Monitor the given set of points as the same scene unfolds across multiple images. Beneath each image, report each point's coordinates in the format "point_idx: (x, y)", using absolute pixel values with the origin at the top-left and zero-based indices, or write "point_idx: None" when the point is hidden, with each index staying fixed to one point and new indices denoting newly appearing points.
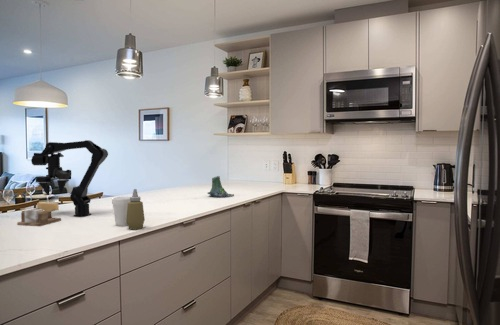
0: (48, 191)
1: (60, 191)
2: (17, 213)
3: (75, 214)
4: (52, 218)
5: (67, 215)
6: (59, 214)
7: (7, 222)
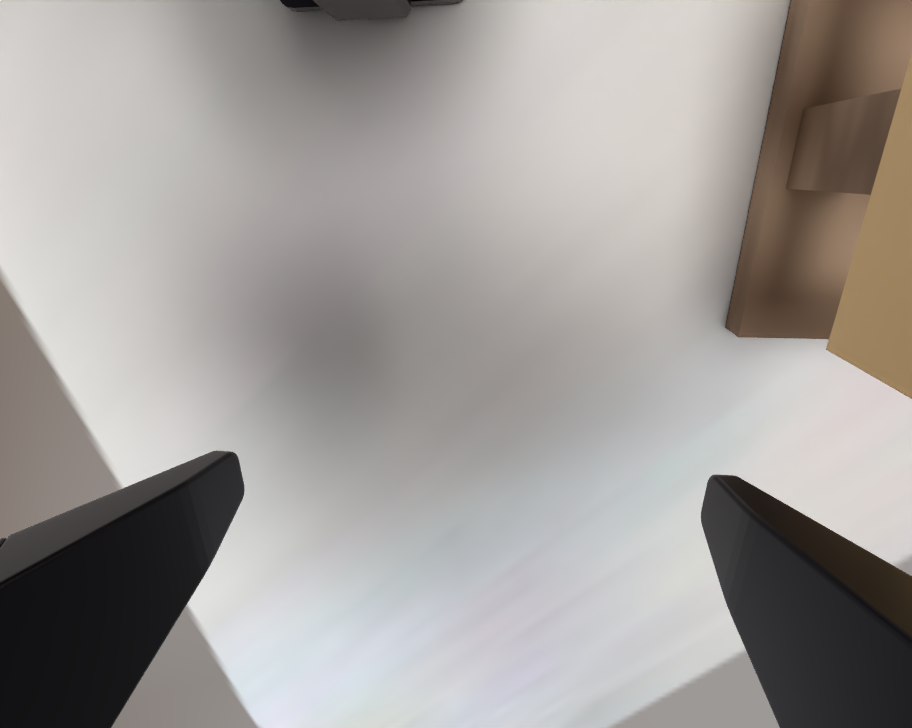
0: (823, 533)
1: (224, 507)
2: (466, 721)
3: (408, 7)
4: (855, 48)
5: (426, 166)
6: (400, 328)
7: (901, 537)
